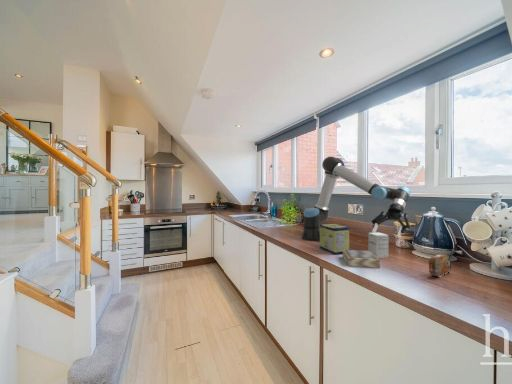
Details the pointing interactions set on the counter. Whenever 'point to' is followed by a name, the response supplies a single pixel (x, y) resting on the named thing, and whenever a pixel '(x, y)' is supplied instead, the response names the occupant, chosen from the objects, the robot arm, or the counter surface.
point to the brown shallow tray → (361, 258)
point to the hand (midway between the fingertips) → (385, 235)
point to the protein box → (334, 238)
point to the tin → (439, 265)
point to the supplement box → (378, 244)
